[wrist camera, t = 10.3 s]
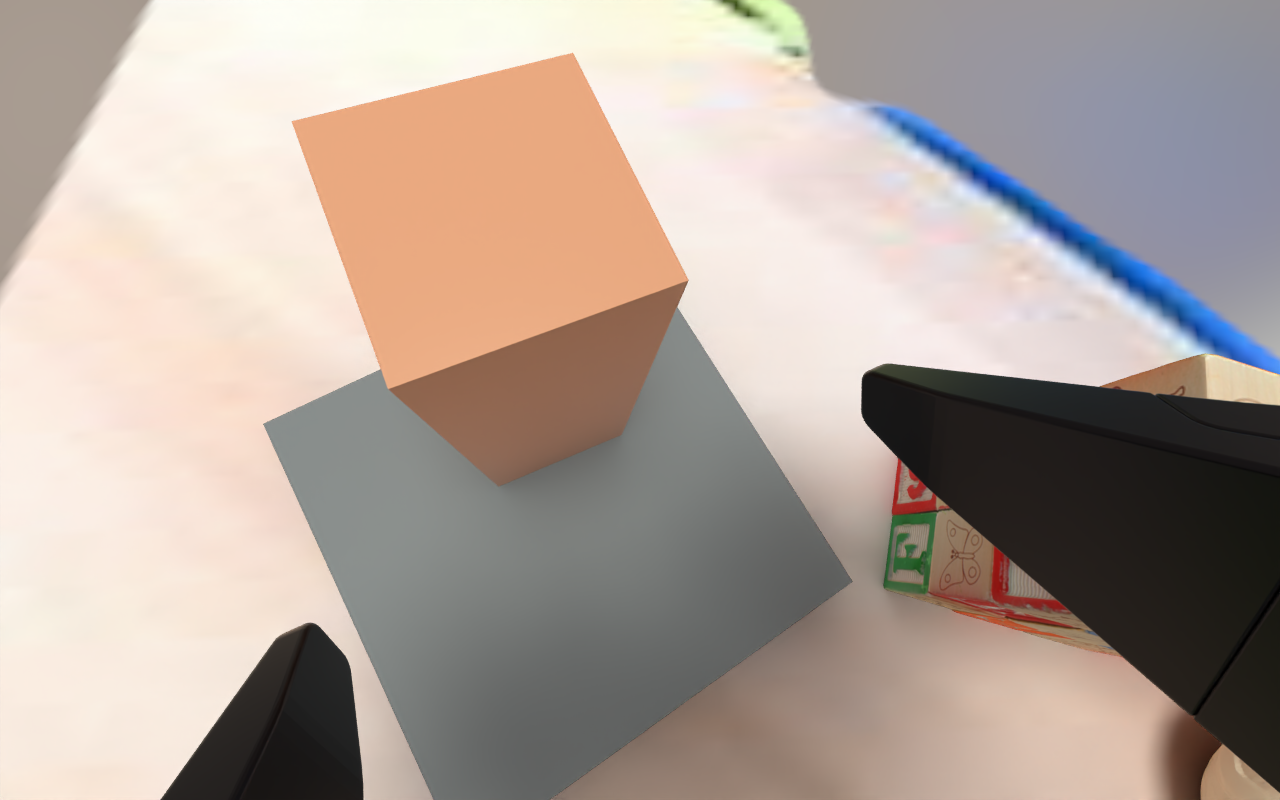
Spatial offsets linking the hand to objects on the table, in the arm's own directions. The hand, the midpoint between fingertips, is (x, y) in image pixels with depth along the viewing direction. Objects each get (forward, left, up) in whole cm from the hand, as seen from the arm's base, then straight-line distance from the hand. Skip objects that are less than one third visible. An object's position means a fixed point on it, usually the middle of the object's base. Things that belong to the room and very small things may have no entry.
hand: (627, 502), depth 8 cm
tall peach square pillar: (+5, 0, -12) cm, 13 cm away
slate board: (+1, 0, -13) cm, 13 cm away
